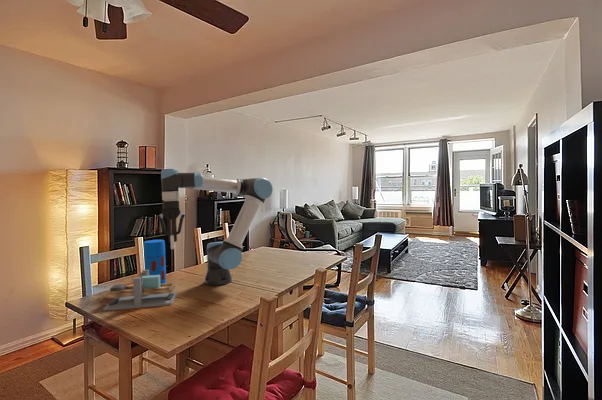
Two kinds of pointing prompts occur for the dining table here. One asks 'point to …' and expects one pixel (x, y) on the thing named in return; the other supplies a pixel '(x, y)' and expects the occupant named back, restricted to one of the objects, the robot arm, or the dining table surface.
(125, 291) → the beam
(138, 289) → the stand
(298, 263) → the dining table surface
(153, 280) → the block
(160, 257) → the thermos
